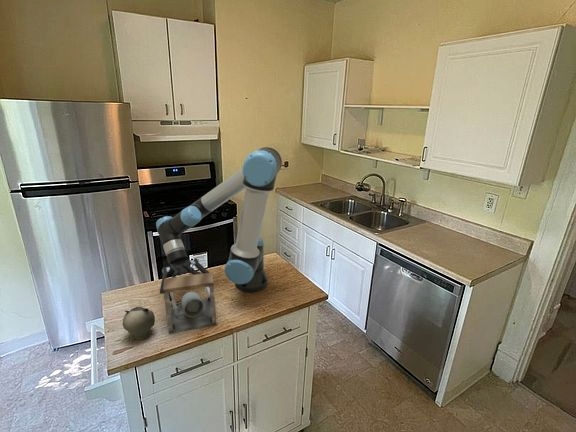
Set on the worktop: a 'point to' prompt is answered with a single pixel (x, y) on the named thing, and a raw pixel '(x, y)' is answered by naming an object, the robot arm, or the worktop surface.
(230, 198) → the robot arm
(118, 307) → the worktop surface
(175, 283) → the shelf
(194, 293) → the ceramic mug
